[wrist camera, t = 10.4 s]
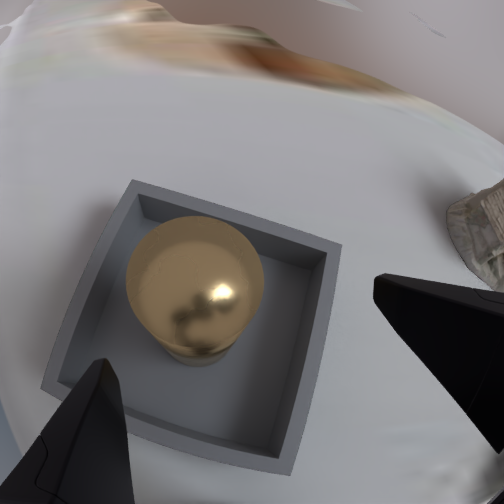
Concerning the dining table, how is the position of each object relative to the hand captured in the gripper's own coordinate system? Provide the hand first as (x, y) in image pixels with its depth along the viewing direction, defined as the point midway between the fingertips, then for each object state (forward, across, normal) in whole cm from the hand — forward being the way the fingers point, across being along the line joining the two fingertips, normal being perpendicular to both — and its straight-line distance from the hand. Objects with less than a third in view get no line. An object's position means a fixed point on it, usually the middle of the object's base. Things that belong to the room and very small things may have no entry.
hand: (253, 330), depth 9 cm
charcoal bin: (+12, +2, +8) cm, 14 cm away
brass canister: (+11, +2, +7) cm, 13 cm away
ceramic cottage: (+11, -35, +11) cm, 38 cm away
